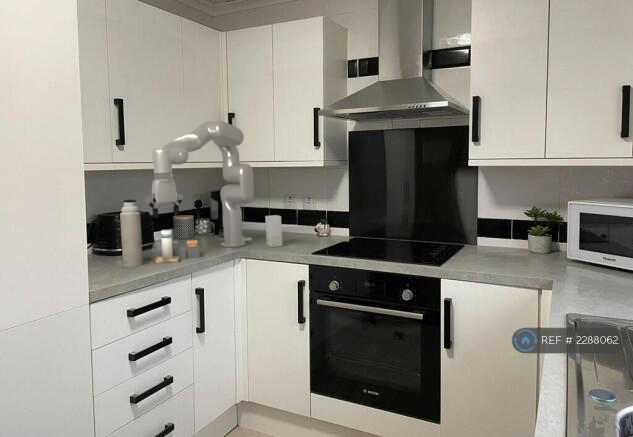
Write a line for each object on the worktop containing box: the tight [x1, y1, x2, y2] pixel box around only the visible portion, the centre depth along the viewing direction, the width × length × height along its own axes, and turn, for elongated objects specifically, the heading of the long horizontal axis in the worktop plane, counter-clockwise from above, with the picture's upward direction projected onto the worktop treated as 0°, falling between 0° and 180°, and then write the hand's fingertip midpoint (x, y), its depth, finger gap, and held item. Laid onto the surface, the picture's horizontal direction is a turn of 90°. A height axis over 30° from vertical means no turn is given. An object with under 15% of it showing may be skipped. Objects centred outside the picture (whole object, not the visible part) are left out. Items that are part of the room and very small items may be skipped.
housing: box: [150, 240, 200, 261], centre depth 232 cm, size 21×10×7 cm, turn 104°
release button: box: [186, 239, 198, 247], centre depth 234 cm, size 5×5×6 cm
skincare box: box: [264, 214, 284, 248], centre depth 260 cm, size 8×7×16 cm
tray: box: [154, 256, 180, 265], centre depth 223 cm, size 10×8×2 cm
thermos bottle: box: [119, 199, 144, 268], centre depth 215 cm, size 8×8×28 cm
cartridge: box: [160, 229, 173, 259], centre depth 223 cm, size 5×5×13 cm
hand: (166, 216), depth 222 cm, fingers open, 9 cm apart
